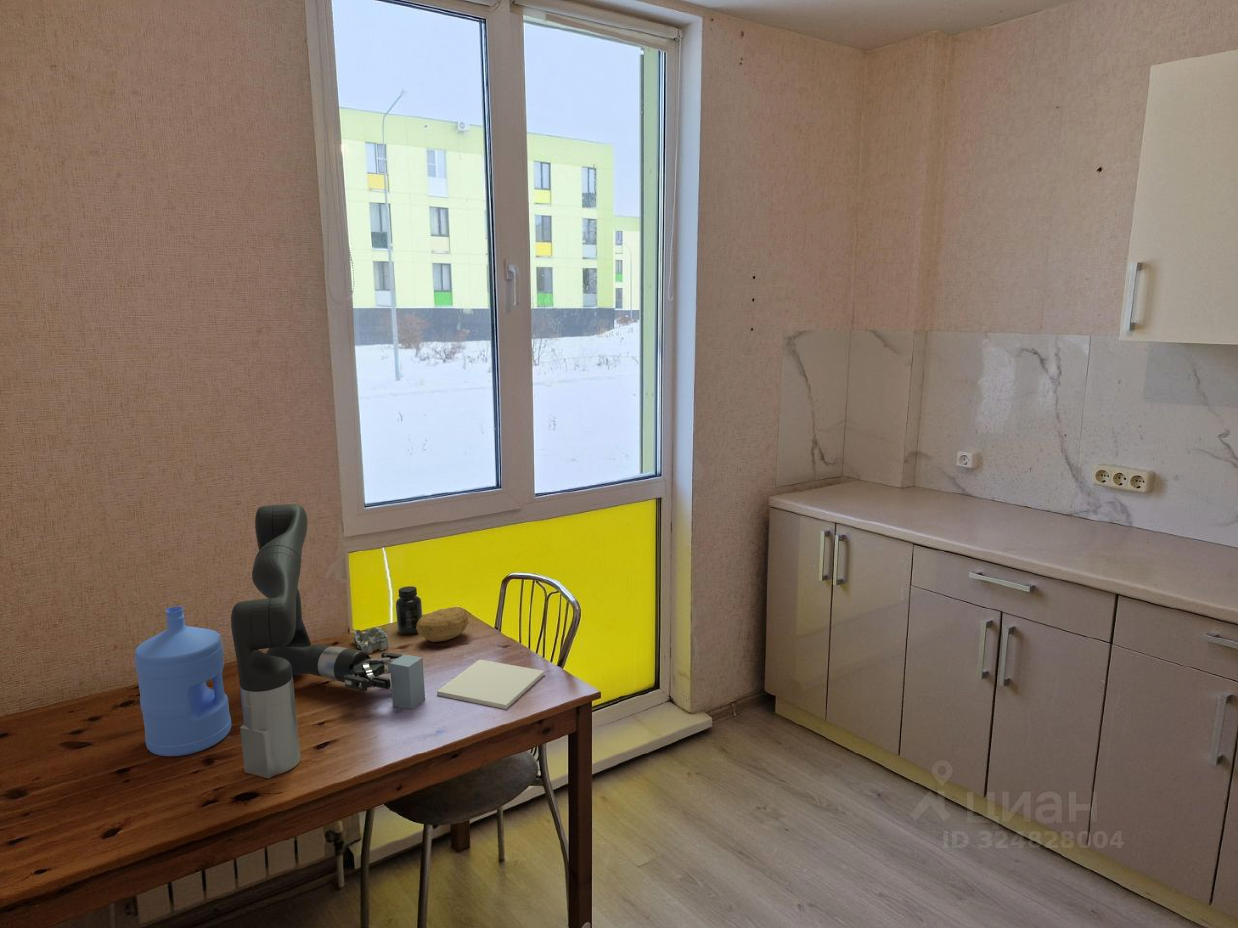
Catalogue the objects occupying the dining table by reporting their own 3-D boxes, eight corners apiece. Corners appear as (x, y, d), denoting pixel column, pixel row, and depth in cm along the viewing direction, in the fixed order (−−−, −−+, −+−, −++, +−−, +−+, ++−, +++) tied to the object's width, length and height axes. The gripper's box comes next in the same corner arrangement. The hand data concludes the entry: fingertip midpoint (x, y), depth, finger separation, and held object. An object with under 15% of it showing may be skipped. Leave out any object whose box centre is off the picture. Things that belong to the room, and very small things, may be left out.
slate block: (411, 709, 176) (408, 666, 174) (392, 705, 178) (389, 663, 176) (425, 699, 181) (422, 657, 179) (406, 695, 183) (404, 654, 181)
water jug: (136, 764, 156) (117, 628, 151) (158, 724, 171) (142, 600, 166) (223, 751, 160) (208, 619, 155) (238, 714, 175) (224, 592, 170)
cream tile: (506, 709, 176) (506, 704, 175) (437, 695, 182) (437, 691, 182) (544, 674, 192) (544, 670, 192) (479, 663, 199) (479, 659, 198)
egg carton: (351, 642, 213) (350, 627, 212) (380, 636, 217) (379, 621, 216) (361, 656, 204) (360, 641, 203) (391, 649, 208) (389, 634, 207)
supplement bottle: (426, 626, 223) (424, 584, 220) (418, 635, 216) (415, 593, 214) (402, 625, 223) (400, 584, 221) (393, 635, 217) (390, 592, 214)
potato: (410, 640, 213) (409, 611, 212) (459, 627, 221) (458, 600, 220) (425, 652, 205) (423, 623, 204) (475, 639, 213) (474, 610, 212)
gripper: (320, 661, 178) (380, 673, 172) (363, 637, 191) (420, 647, 184) (323, 693, 179) (382, 705, 173) (365, 667, 192) (422, 677, 186)
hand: (401, 675), depth 179 cm, fingers open, 8 cm apart
